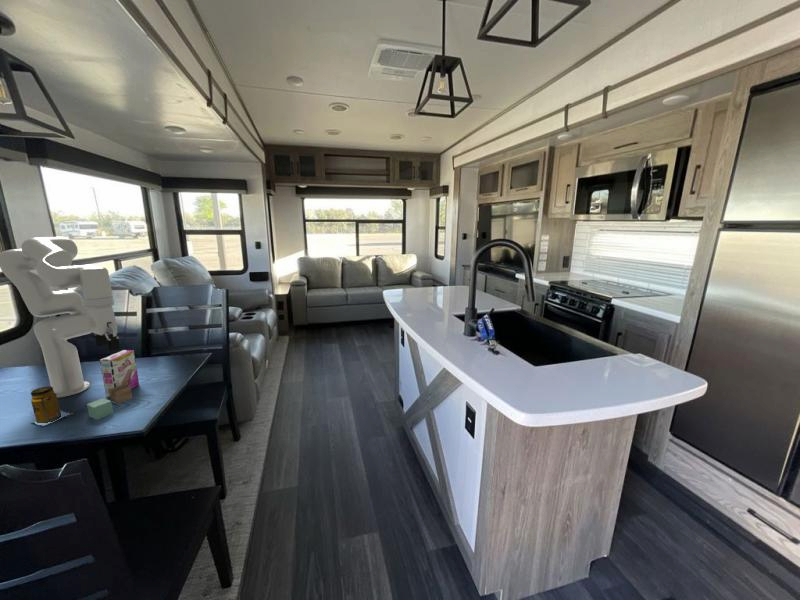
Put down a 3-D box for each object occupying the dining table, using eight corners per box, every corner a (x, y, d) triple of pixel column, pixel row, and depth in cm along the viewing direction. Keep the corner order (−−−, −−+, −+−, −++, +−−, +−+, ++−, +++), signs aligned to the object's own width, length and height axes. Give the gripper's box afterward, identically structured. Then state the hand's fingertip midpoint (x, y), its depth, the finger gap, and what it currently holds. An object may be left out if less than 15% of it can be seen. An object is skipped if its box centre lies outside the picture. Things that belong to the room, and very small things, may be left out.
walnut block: (110, 401, 128) (108, 389, 127) (125, 395, 132) (123, 384, 131) (117, 404, 126) (115, 392, 125) (132, 398, 130) (130, 386, 129)
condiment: (30, 423, 113) (22, 392, 110) (60, 410, 121) (53, 381, 118) (44, 427, 111) (36, 395, 108) (74, 414, 119) (67, 384, 116)
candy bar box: (117, 398, 130) (110, 360, 126) (105, 397, 130) (98, 359, 127) (140, 385, 141) (134, 349, 137) (129, 384, 141) (123, 349, 137)
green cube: (89, 416, 118) (86, 404, 116) (106, 409, 122) (103, 397, 121) (96, 420, 115) (93, 407, 114) (113, 413, 120) (110, 401, 119)
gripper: (75, 300, 115) (84, 346, 119) (96, 307, 107) (105, 355, 111) (102, 297, 122) (110, 340, 125) (123, 303, 113) (131, 348, 117)
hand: (108, 347), depth 118 cm, fingers open, 9 cm apart
